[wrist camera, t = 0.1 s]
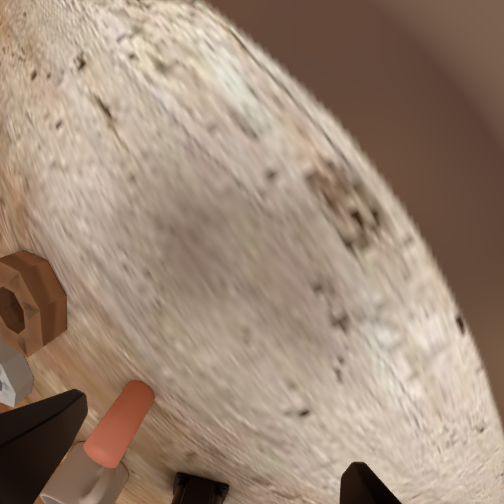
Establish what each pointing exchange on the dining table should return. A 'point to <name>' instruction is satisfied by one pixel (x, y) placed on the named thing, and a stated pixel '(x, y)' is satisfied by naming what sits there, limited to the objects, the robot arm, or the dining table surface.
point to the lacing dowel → (119, 425)
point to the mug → (84, 481)
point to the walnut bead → (30, 303)
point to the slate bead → (13, 375)
